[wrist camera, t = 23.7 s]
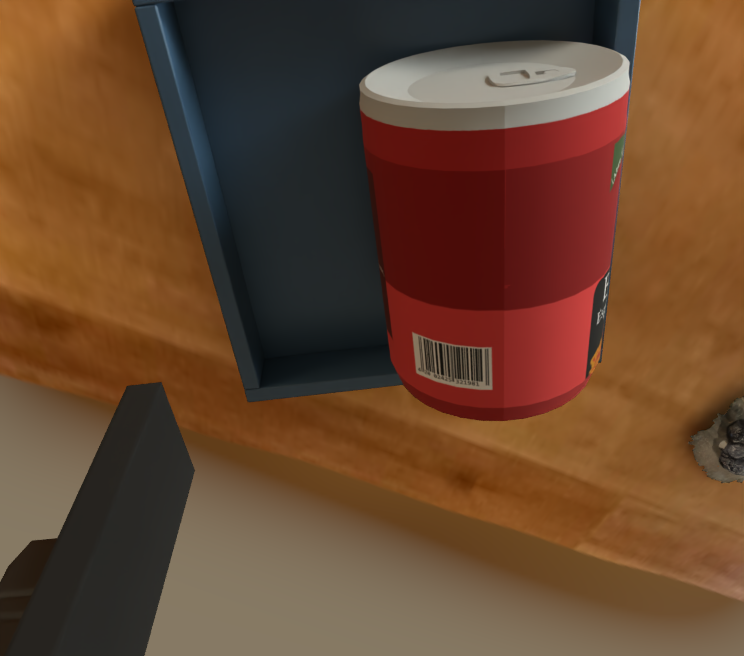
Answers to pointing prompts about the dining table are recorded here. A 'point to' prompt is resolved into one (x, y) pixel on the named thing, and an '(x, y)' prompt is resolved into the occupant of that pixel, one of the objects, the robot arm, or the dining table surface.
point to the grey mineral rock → (723, 445)
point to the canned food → (496, 218)
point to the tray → (313, 159)
